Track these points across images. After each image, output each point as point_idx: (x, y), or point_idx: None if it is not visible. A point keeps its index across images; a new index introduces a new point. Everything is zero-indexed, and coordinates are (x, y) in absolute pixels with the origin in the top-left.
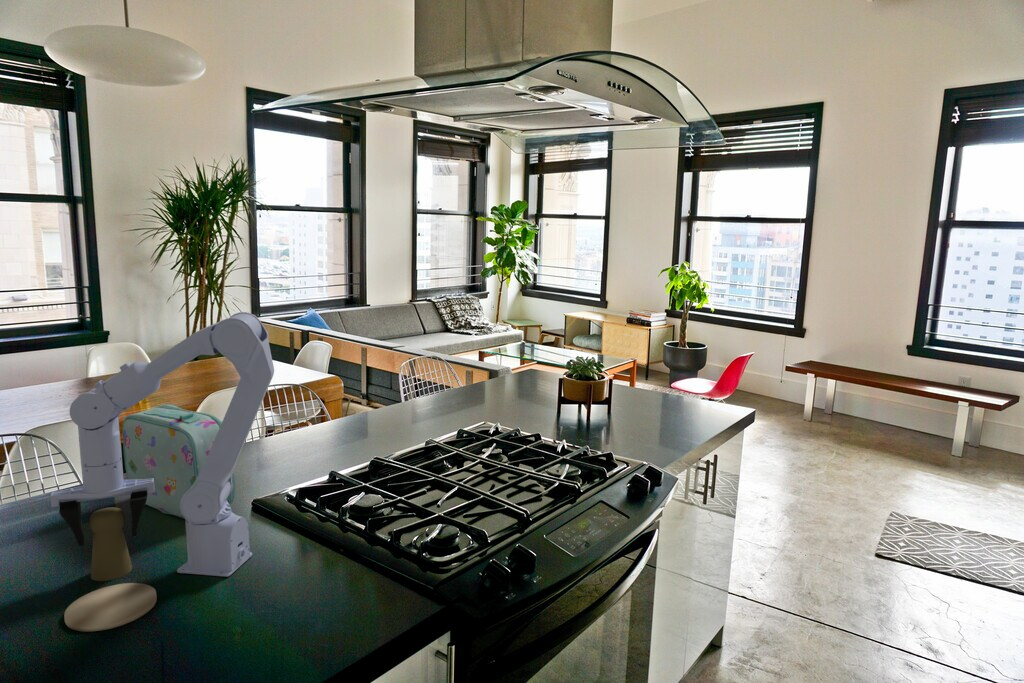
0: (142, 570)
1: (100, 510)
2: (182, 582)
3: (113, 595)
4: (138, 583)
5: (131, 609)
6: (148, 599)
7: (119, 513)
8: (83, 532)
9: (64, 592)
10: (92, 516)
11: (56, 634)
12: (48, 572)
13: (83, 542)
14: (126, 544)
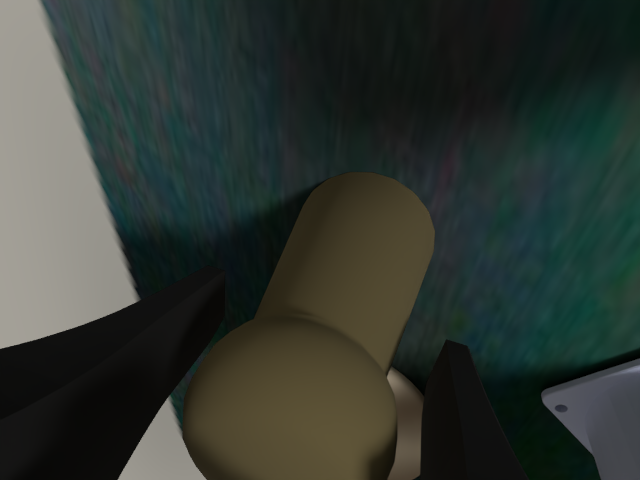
0: (455, 295)
1: (225, 464)
2: (524, 435)
3: None
4: (409, 395)
5: None
6: (407, 466)
7: None
8: (200, 292)
9: (233, 269)
10: (192, 459)
11: None
12: (167, 84)
13: (221, 302)
14: (409, 315)
